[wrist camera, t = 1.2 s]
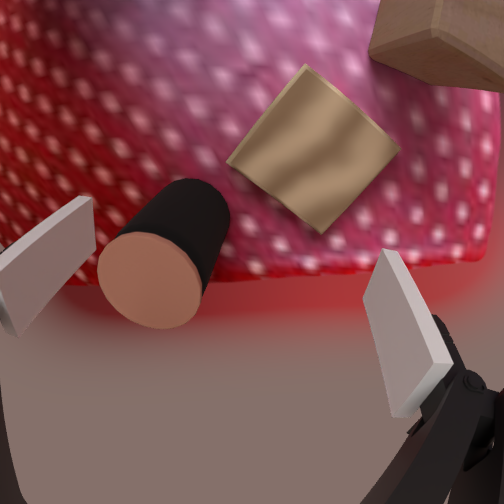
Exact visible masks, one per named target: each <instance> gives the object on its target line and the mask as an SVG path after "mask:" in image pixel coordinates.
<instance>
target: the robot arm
mask: <svg viewBox="0 0 504 504" xmlns="http://www.w3.org/2000/svg"><path fill="white" fill-rule="evenodd" d="M95 250H96V243H95V231H94V218H93V202H92V197H85V196H78V197H76V198H75V199H74V200H72V201H71V202H69V203H68V204H66V205H65V206H63V207H62V208H61V209H59V210H58V211H56V212H55V213H53V214H52V215H51V216H49V217H48V218H47V219H45V220H44V221H43V222H41V223H40V224H38V225H37V226H36V227H34V228H33V229H32V230H31V231H29V232H28V233H27V234H25V235H24V236H23V237H22V238H20V239H19V240H18V241H16V242H14V243H12V244H10V245H9V246H8V247H6V248H5V249H4V250H3V252H1V253H0V321H1V323H2V326H3V328H4V331H5V332H6V333H8V334H10V335H13V336H15V337H17V338H19V337H20V336H21V335H22V333H23V332H24V331H25V329H26V328H27V327H28V326H29V324H30V323H31V322H32V321H33V319H34V318H35V317H36V316H37V315H38V314H39V312H40V311H41V310H42V309H43V308H44V306H45V305H46V304H47V303H48V302H49V301H50V299H51V298H52V297H53V296H54V295H55V294H56V292H57V291H58V290H59V289H60V288H61V287H62V286H63V285H64V283H65V282H66V281H67V280H68V279H69V278H70V277H71V276H72V275H73V274H74V272H75V271H76V270H77V269H78V268H79V267H80V266H81V265H82V264H83V263H84V262H85V261H86V260H87V259H88V257H89V256H90V255H91V254H92V253H93V252H94V251H95ZM363 302H364V306H365V309H366V313H367V316H368V320H369V323H370V327H371V331H372V334H373V338H374V342H375V346H376V350H377V354H378V358H379V361H380V366H381V370H382V374H383V378H384V383H385V387H386V392H387V396H388V400H389V406H390V410H391V415H392V417H411V416H412V415H413V414H414V413H415V412H416V411H417V410H418V408H419V407H420V409H421V413H422V417H421V418H420V419H419V420H418V421H417V422H416V423H415V424H414V425H413V426H412V428H411V429H410V430H409V431H408V432H407V434H409V436H408V437H407V439H406V441H405V442H404V444H403V445H402V447H401V448H400V450H399V451H398V453H397V454H396V456H395V457H394V459H393V460H392V462H391V463H390V465H389V466H388V467H387V469H386V470H385V472H384V473H383V475H382V476H381V477H380V478H379V480H378V481H377V482H376V484H375V485H374V486H373V488H372V489H371V490H370V492H369V493H368V494H367V495H366V497H365V498H364V499H363V500H362V502H361V503H360V504H443V503H444V502H445V499H446V498H447V495H448V494H449V492H450V496H449V500H448V504H504V388H503V390H502V391H501V392H500V393H499V392H496V391H493V390H490V389H487V387H486V384H485V382H484V381H483V379H482V378H481V377H480V376H479V375H478V374H477V373H475V372H473V371H471V370H466V368H465V366H464V363H463V361H462V359H461V357H460V355H459V353H458V350H457V348H456V346H455V344H453V340H452V338H451V336H449V332H448V330H447V328H446V326H445V324H444V323H443V322H442V321H441V320H440V318H439V317H438V316H437V315H433V314H431V313H430V311H429V310H428V307H427V306H426V303H425V301H424V299H423V298H422V296H421V294H420V292H419V290H418V288H417V286H416V284H415V282H414V280H413V279H412V277H411V275H410V273H409V271H408V269H407V268H406V266H405V264H404V262H403V261H402V259H401V257H400V255H399V253H398V252H397V251H393V250H388V249H384V248H382V250H381V253H380V255H379V258H378V261H377V263H376V266H375V269H374V271H373V274H372V276H371V279H370V281H369V284H368V286H367V289H366V291H365V294H364V296H363ZM493 442H494V446H493V448H492V445H493ZM450 490H451V491H450ZM0 504H27V503H26V501H25V500H24V498H23V496H22V494H21V492H20V489H19V485H18V481H17V478H16V474H15V470H14V466H13V462H12V458H11V453H10V448H9V443H8V438H7V432H6V426H5V421H4V413H3V405H2V397H1V387H0Z"/></svg>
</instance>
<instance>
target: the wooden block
mask: <svg viewBox="0 0 504 504" xmlns="http://www.w3.org/2000/svg"><path fill="white" fill-rule="evenodd" d="M368 52H369V57H371V58H372V59H373V60H374V61H377V62H380V63H382V64H385V65H387V66H390V67H392V68H394V69H397V70H399V71H401V72H404V73H406V74H408V75H410V76H413V77H415V78H417V79H419V80H421V81H423V82H425V83H427V84H429V85H438V86H450V87H460V88H470V89H478V90H485V91H492V92H499V93H504V0H381V1H380V6H379V10H378V14H377V18H376V22H375V26H374V30H373V34H372V38H371V42H370V45H369V49H368Z"/></svg>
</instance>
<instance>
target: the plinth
mask: <svg viewBox="0 0 504 504" xmlns="http://www.w3.org/2000/svg"><path fill="white" fill-rule="evenodd" d="M400 150H401V148H400V147H399V146H398V145H397V144H396V143H395V142H394V141H393V140H392V139H391V138H390V137H389V136H388V135H387V134H386V133H385V132H384V131H383V130H382V129H381V128H380V127H379V126H378V125H377V124H376V123H375V122H374V121H373V120H372V119H371V118H369V117H368V116H367V115H366V114H365V113H364V112H363V111H362V110H361V109H360V108H359V107H357V106H356V105H355V104H354V103H353V102H352V101H351V100H349V99H348V98H347V97H346V96H345V95H344V94H342V93H341V92H340V91H339V90H338V89H337V88H335V87H334V86H333V85H332V84H330V83H329V82H328V81H327V80H326V79H324V78H323V77H322V76H321V75H319V74H318V73H317V72H315V71H314V70H313V69H312V68H310V67H309V66H308V65H306V64H304V65H303V66H302V68H301V69H300V70H299V71H298V72H297V73H296V75H295V76H294V77H293V78H292V79H291V80H290V82H289V83H288V84H287V85H286V86H285V88H284V89H283V90H282V91H281V92H280V94H279V95H278V96H277V97H276V99H275V100H274V101H273V102H272V103H271V105H270V106H269V107H268V108H267V110H266V111H265V112H264V113H263V115H262V116H261V117H260V118H259V120H258V121H257V122H256V123H255V125H254V126H253V127H252V128H251V130H250V131H249V132H248V134H247V135H246V136H245V137H244V139H243V140H242V141H241V143H240V144H239V145H238V146H237V148H236V149H235V150H234V152H233V153H232V154H231V156H230V157H229V158H228V160H227V161H226V163H227V164H229V165H230V166H231V167H233V168H234V169H235V170H237V171H238V172H240V173H241V174H242V175H244V176H245V177H246V178H248V179H249V180H250V181H252V182H253V183H255V184H256V185H257V186H259V187H260V188H261V189H263V190H264V191H265V192H267V193H268V194H269V195H271V196H272V197H273V198H275V199H276V200H277V201H279V202H280V203H281V204H282V205H284V206H285V207H286V208H288V209H289V210H290V211H292V212H293V213H294V214H296V215H297V216H298V217H299V218H301V219H302V220H303V221H305V222H306V223H307V224H308V225H310V226H311V227H312V228H313V229H315V230H316V231H317V232H319V233H320V234H321V235H322V234H323V233H324V232H325V231H326V230H327V229H328V227H329V226H330V225H331V224H332V223H333V222H334V221H335V220H336V219H337V218H338V217H339V216H340V215H341V214H342V213H343V212H344V211H345V210H346V209H347V207H348V206H349V205H350V204H351V203H352V202H353V201H354V200H355V199H356V198H357V197H358V196H359V195H360V194H361V193H362V191H363V190H364V189H365V188H366V187H367V186H368V185H369V184H370V183H371V182H372V181H373V180H374V179H375V177H376V176H377V175H378V174H379V173H380V172H381V171H382V170H383V169H384V168H385V167H386V165H387V164H388V163H389V162H390V161H391V160H392V159H393V158H394V157H395V155H396V154H397V153H398V152H399V151H400Z"/></svg>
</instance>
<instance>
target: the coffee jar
mask: <svg viewBox="0 0 504 504" xmlns="http://www.w3.org/2000/svg"><path fill="white" fill-rule="evenodd" d="M229 221H230V213H229V209H228V205H227V203H226V201H225V199H224V198H223V196H222V195H221V193H220V192H219V191H218V190H216V189H215V188H214V187H213V186H212V185H210V184H208V183H206V182H203V181H201V180H199V179H189V178H185V179H181V180H177V181H174V182H172V183H171V184H169V185H168V186H166V187H165V188H164V189H162V190H161V191H160V192H159V193H158V194H157V195H156V196H155V197H154V198H153V199H152V200H151V201H150V202H149V203H148V204H147V205H146V206H145V207H144V208H143V209H142V210H141V211H139V212H138V213H137V214H136V215H135V216H134V217H133V218H132V219H131V220H130V221H129V222H128V223H127V224H126V225H125V226H124V227H123V228H122V229H121V231H120V232H119V233H118V234H117V236H116V237H115V239H114V240H113V241H111V242H110V243H109V244H108V245H106V247H105V248H104V250H103V252H102V253H101V255H100V257H99V262H98V268H97V273H98V278H99V284H100V286H101V288H102V290H103V292H104V294H105V296H106V298H107V299H108V301H109V302H110V303H111V304H112V305H113V307H114V308H115V309H116V310H117V311H118V312H120V313H121V314H122V315H124V316H125V317H126V318H128V319H129V320H131V321H133V322H136V323H138V324H140V325H142V326H145V327H150V328H155V329H171V328H175V327H178V326H180V325H183V324H185V323H187V322H188V321H189V320H190V319H191V318H192V317H193V316H194V315H195V314H196V312H197V309H198V308H199V305H200V303H201V299H202V296H203V294H204V291H205V289H206V287H207V284H208V282H209V279H210V276H211V273H212V271H213V268H214V265H215V263H216V260H217V257H218V254H219V252H220V249H221V246H222V244H223V241H224V238H225V236H226V233H227V230H228V228H229Z"/></svg>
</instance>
